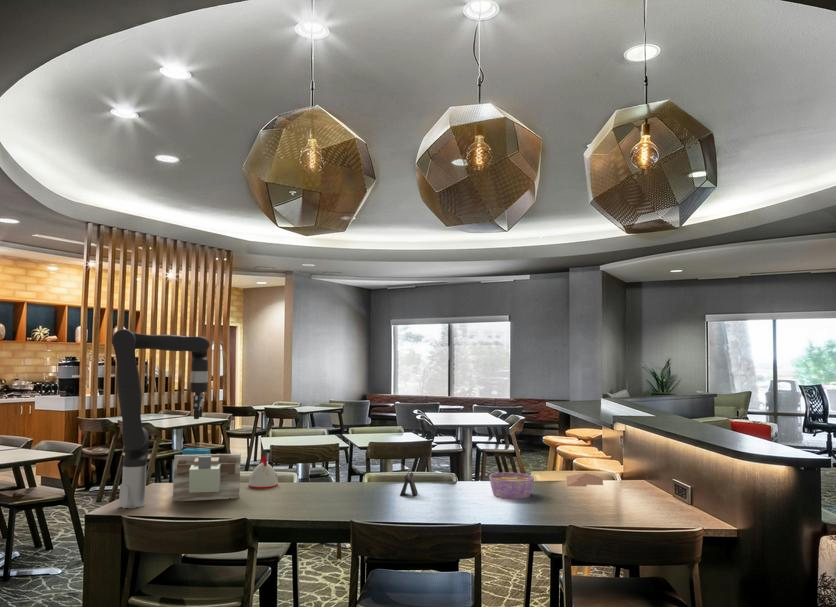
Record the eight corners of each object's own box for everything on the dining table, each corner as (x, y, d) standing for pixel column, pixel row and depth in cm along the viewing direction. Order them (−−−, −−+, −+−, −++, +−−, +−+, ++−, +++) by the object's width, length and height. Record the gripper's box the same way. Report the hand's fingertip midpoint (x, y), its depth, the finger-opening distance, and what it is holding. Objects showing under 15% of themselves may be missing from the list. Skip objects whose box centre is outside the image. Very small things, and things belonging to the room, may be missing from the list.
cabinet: (218, 491, 273) (219, 457, 272) (189, 492, 271) (189, 458, 270) (221, 482, 284) (221, 449, 283) (193, 483, 282) (193, 450, 280)
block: (209, 492, 298) (211, 449, 300) (205, 495, 293) (206, 450, 295) (185, 491, 299) (186, 448, 301) (180, 494, 294) (181, 450, 296)
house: (608, 485, 327) (608, 469, 328) (612, 499, 295) (611, 481, 296) (562, 482, 332) (562, 466, 333) (561, 496, 300) (561, 478, 301)
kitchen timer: (252, 491, 302) (253, 459, 303) (245, 485, 314) (246, 454, 315) (281, 488, 308) (282, 457, 309) (273, 483, 320) (274, 453, 322)
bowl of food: (480, 500, 289) (480, 474, 290) (516, 496, 298) (516, 471, 299) (506, 510, 271) (506, 482, 272) (543, 505, 280) (543, 478, 281)
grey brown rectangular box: (238, 502, 279) (239, 456, 281) (170, 504, 274) (172, 457, 276) (240, 496, 292) (241, 451, 293) (175, 498, 287) (177, 452, 288)
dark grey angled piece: (397, 501, 285) (398, 474, 286) (400, 498, 291) (400, 471, 292) (417, 502, 283) (418, 475, 284) (419, 499, 289) (420, 472, 290)
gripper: (205, 382, 280) (204, 419, 279) (210, 380, 294) (208, 416, 293) (187, 382, 278) (186, 419, 277) (192, 380, 292) (191, 416, 291)
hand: (197, 418), depth 285 cm, fingers open, 8 cm apart
